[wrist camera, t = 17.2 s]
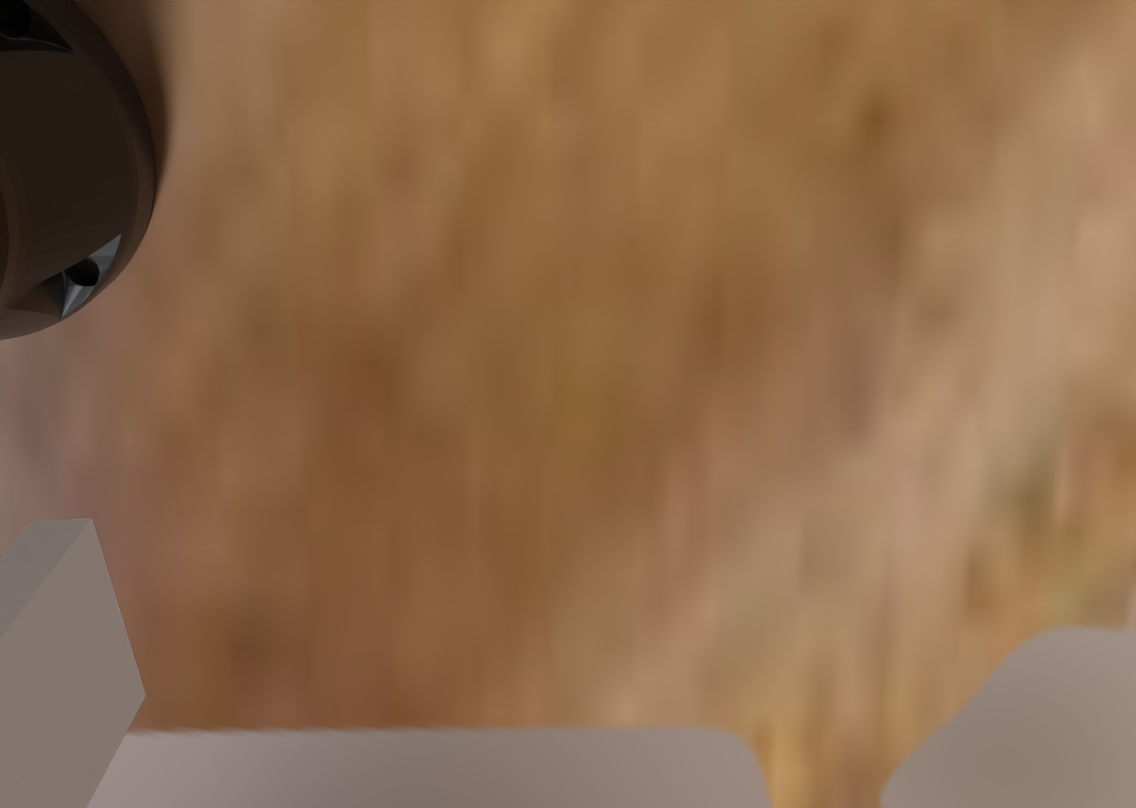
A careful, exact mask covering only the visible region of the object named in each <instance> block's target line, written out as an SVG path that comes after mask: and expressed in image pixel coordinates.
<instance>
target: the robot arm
mask: <svg viewBox="0 0 1136 808" xmlns="http://www.w3.org/2000/svg"><path fill="white" fill-rule="evenodd" d="M154 188H155V163H154V152H153V144H152V139H151V134H150V129H149V126H148V122H147V118H146V115H145V112H144V109H143V106H142V103H141V101H140V98H139V96H138V93H137V91H136V89H135V86H134V84H133V82H132V80H131V78H130V76H129V74H128V72H127V71H126V69H125V67H124V65H123V64H122V62H121V60H120V59H119V57H118V56H117V54H116V53H115V51H114V50H113V48H112V47H111V45H110V44H109V42H108V41H107V40H106V38H105V37H104V36H103V34H102V33H101V32H100V31H99V29H98V28H97V27H96V26H95V25H94V24H93V23H92V21H91V20H90V19H89V18H88V17H87V16H86V15H85V14H84V13H83V12H82V11H81V10H80V9H79V8H78V7H77V6H76V5H75V4H74V3H73V2H72V1H71V0H0V340H4V339H10V338H16V337H20V336H24V335H28V334H31V333H34V332H37V331H40V330H43V329H45V328H47V327H49V326H52V325H54V324H56V323H58V322H60V321H62V320H64V319H66V318H68V317H69V316H71V315H72V314H74V313H75V312H77V311H78V310H80V309H81V308H83V307H84V306H85V305H86V304H88V303H89V302H90V301H91V300H92V299H94V298H95V297H96V296H97V295H98V294H99V293H100V292H102V291H103V290H104V289H105V288H106V287H107V286H108V285H109V284H110V283H112V282H113V281H114V280H115V279H116V278H117V276H118V275H119V274H120V273H121V272H122V271H123V270H124V268H125V267H126V266H127V264H128V263H129V261H130V260H131V258H132V257H133V255H134V253H135V252H136V250H137V248H138V246H139V244H140V242H141V240H142V238H143V235H144V233H145V230H146V227H147V224H148V221H149V217H150V214H151V209H152V204H153V197H154ZM145 696H146V695H145V692H144V688H143V685H142V682H141V678H140V675H139V672H138V669H137V665H136V662H135V659H134V655H133V652H132V649H131V646H130V642H129V639H128V636H127V632H126V629H125V626H124V623H123V619H122V616H121V613H120V609H119V606H118V603H117V600H116V596H115V593H114V590H113V586H112V583H111V580H110V577H109V573H108V570H107V567H106V563H105V560H104V557H103V554H102V550H101V547H100V544H99V540H98V537H97V534H96V531H95V527H94V524H93V521H92V518H84V519H65V520H47V521H30V522H29V523H28V524H27V525H26V527H25V528H24V529H23V530H22V531H21V532H20V534H19V535H18V536H17V537H16V538H15V539H14V541H13V542H12V543H11V544H10V545H9V547H8V548H7V549H6V550H5V551H4V552H3V554H2V555H1V556H0V808H86V807H87V806H88V804H89V802H90V800H91V798H92V796H93V794H94V793H95V790H96V789H97V787H98V785H99V783H100V781H101V779H102V777H103V775H104V774H105V772H106V770H107V768H108V766H109V764H110V762H111V760H112V758H113V757H114V755H115V753H116V751H117V749H118V747H119V745H120V743H121V741H122V739H123V738H124V736H125V734H126V732H127V730H128V728H129V726H130V724H131V722H132V720H133V719H134V717H135V715H136V713H137V711H138V709H139V707H140V705H141V703H142V702H143V700H144V698H145Z"/></svg>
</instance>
